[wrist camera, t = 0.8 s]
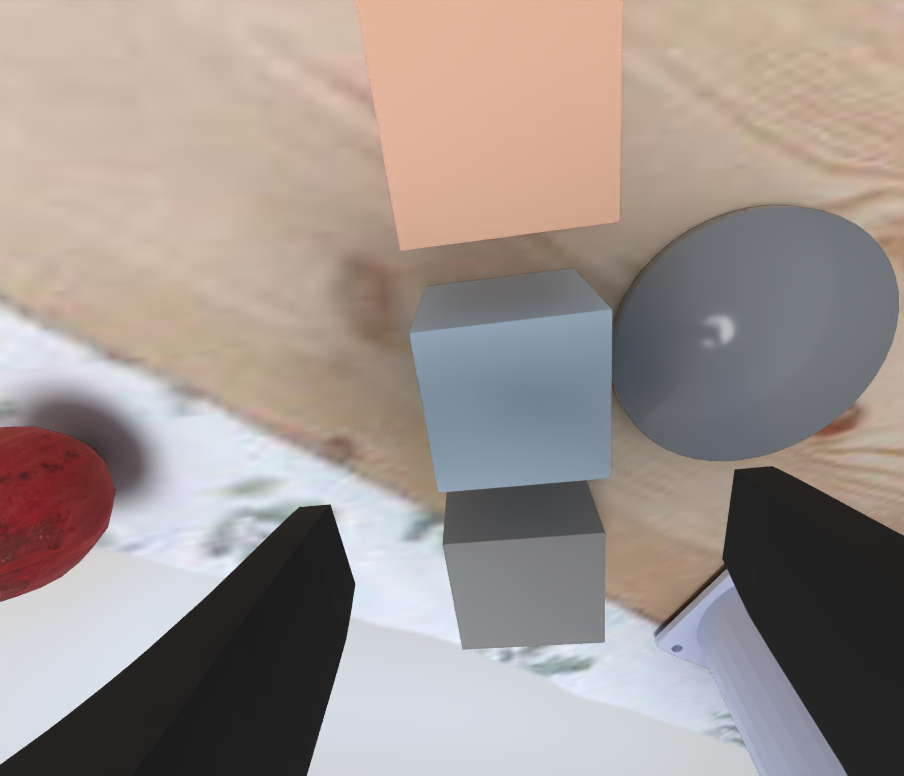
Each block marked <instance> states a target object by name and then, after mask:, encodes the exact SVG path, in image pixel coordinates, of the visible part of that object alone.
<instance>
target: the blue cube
mask: <svg viewBox="0 0 904 776" xmlns="http://www.w3.org/2000/svg"><path fill="white" fill-rule="evenodd" d="M409 335H410V341H411V346H412V352H413V357H414V363H415V368H416V373H417V379H418V384H419V390H420V395H421V401H422V406H423V412H424V417H425V423H426V428H427V434H428V439H429V445H430V450H431V456H432V461H433V466H434V472H435V477H436V483H437V488H438V493H440V492H452V491H464V490H476V489H488V488H499V487H511V486H523V485H535V484H547V483H559V482H571V481H582V480H594V479H606V478H611V392H612V309H611V307H610V306H609V305H608V304H607V303H606V302H605V301H604V300H603V299H602V298H601V297H600V296H599V295H598V294H597V293H596V292H595V290H594V289H593V288H592V287H591V286H590V285H589V284H588V283H587V282H586V281H585V280H584V279H583V278H582V277H581V276H580V275H579V273H578V272H577V271H576V270H575V269H574V268H570V269H562V270H554V271H546V272H538V273H530V274H522V275H514V276H506V277H498V278H490V279H482V280H475V281H467V282H459V283H451V284H443V285H435V286H427V287H426V289H425V292H424V295H423V297H422V300H421V303H420V305H419V308H418V311H417V313H416V316H415V319H414V321H413V324H412V327H411V329H410V332H409Z"/></svg>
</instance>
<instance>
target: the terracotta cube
mask: <svg viewBox="0 0 904 776" xmlns="http://www.w3.org/2000/svg"><path fill="white" fill-rule="evenodd" d="M356 5H357V11H358V17H359V22H360V28H361V33H362V39H363V45H364V50H365V56H366V62H367V67H368V73H369V79H370V84H371V90H372V95H373V101H374V107H375V112H376V118H377V124H378V129H379V135H380V141H381V146H382V152H383V157H384V163H385V169H386V174H387V180H388V186H389V191H390V197H391V202H392V208H393V214H394V219H395V225H396V231H397V236H398V242H399V248H400V251H404V250H411V249H419V248H426V247H434V246H441V245H449V244H456V243H464V242H471V241H479V240H486V239H494V238H501V237H509V236H516V235H524V234H531V233H539V232H546V231H554V230H561V229H569V228H576V227H584V226H591V225H599V224H606V223H614V222H619V220H620V156H621V91H622V26H623V0H356Z"/></svg>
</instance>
